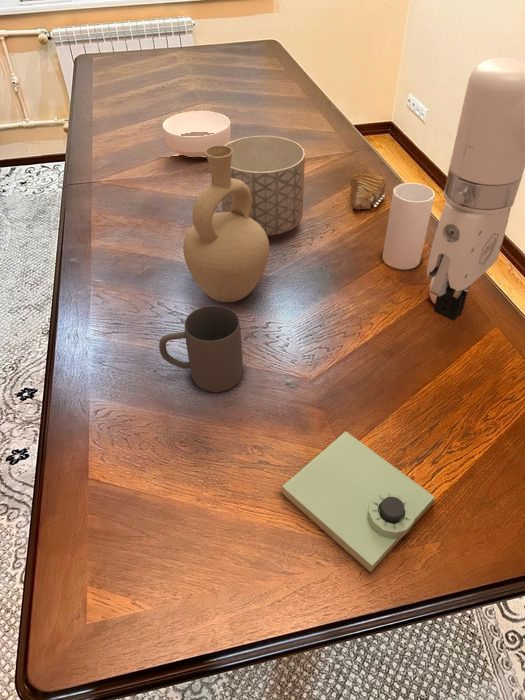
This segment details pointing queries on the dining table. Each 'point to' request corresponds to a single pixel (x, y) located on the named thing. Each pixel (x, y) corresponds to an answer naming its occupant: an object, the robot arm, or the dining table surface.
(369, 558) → the scale
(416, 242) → the cup
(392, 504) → the button
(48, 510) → the dining table surface
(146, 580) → the dining table surface
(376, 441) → the dining table surface
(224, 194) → the vase
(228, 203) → the planter
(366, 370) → the dining table surface
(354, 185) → the fossil
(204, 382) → the mug
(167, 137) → the bowl
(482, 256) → the robot arm
